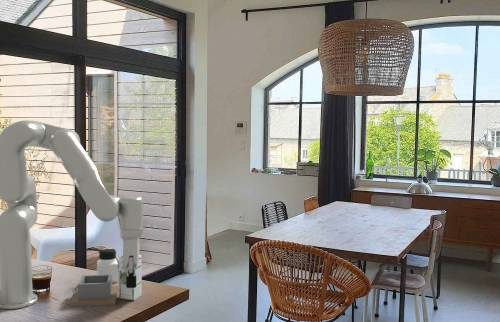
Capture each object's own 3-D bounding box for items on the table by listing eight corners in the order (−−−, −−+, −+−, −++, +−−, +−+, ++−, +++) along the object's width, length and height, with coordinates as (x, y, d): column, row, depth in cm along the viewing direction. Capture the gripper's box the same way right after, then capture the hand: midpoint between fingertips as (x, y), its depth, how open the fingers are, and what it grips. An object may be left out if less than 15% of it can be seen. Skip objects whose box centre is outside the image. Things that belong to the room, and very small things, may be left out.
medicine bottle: (118, 282, 185) (118, 250, 184) (98, 284, 183) (98, 252, 182) (116, 276, 192) (116, 246, 191) (97, 278, 189) (96, 247, 188)
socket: (70, 306, 160) (70, 286, 160) (77, 292, 174) (77, 273, 173) (115, 304, 163) (115, 285, 162) (118, 290, 176) (118, 272, 176)
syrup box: (142, 295, 171) (142, 254, 170) (133, 301, 166) (133, 258, 165) (127, 293, 173) (127, 253, 172) (118, 299, 167) (118, 257, 166)
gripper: (122, 227, 176) (122, 276, 177) (118, 238, 159) (118, 292, 160) (144, 227, 177) (144, 275, 178) (142, 238, 160) (142, 291, 161)
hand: (132, 283), depth 169 cm, fingers closed on syrup box, 7 cm apart
